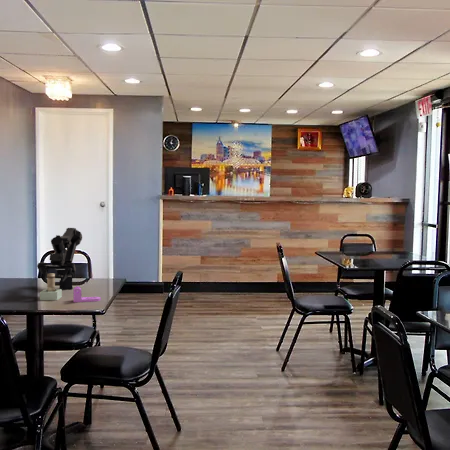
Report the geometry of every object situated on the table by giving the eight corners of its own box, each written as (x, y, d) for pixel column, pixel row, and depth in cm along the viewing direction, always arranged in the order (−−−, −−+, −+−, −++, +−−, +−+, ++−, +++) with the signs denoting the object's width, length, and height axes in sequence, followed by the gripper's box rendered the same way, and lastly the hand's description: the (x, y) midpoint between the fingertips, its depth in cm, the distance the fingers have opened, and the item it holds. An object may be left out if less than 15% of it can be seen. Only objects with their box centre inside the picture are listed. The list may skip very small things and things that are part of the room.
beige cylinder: (53, 297, 258) (53, 273, 257) (56, 298, 255) (55, 274, 254) (46, 298, 256) (46, 273, 255) (48, 299, 253) (48, 274, 252)
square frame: (45, 296, 259) (45, 289, 259) (61, 297, 260) (61, 289, 259) (39, 300, 251) (39, 292, 251) (57, 300, 251) (57, 292, 251)
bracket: (73, 302, 247) (73, 288, 246) (73, 300, 252) (73, 286, 252) (100, 301, 250) (100, 287, 250) (100, 299, 256) (100, 285, 255)
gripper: (38, 247, 263) (31, 271, 253) (74, 247, 264) (68, 271, 254) (43, 260, 271) (36, 284, 261) (78, 260, 272) (73, 284, 262)
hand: (53, 280), depth 259 cm, fingers open, 9 cm apart
